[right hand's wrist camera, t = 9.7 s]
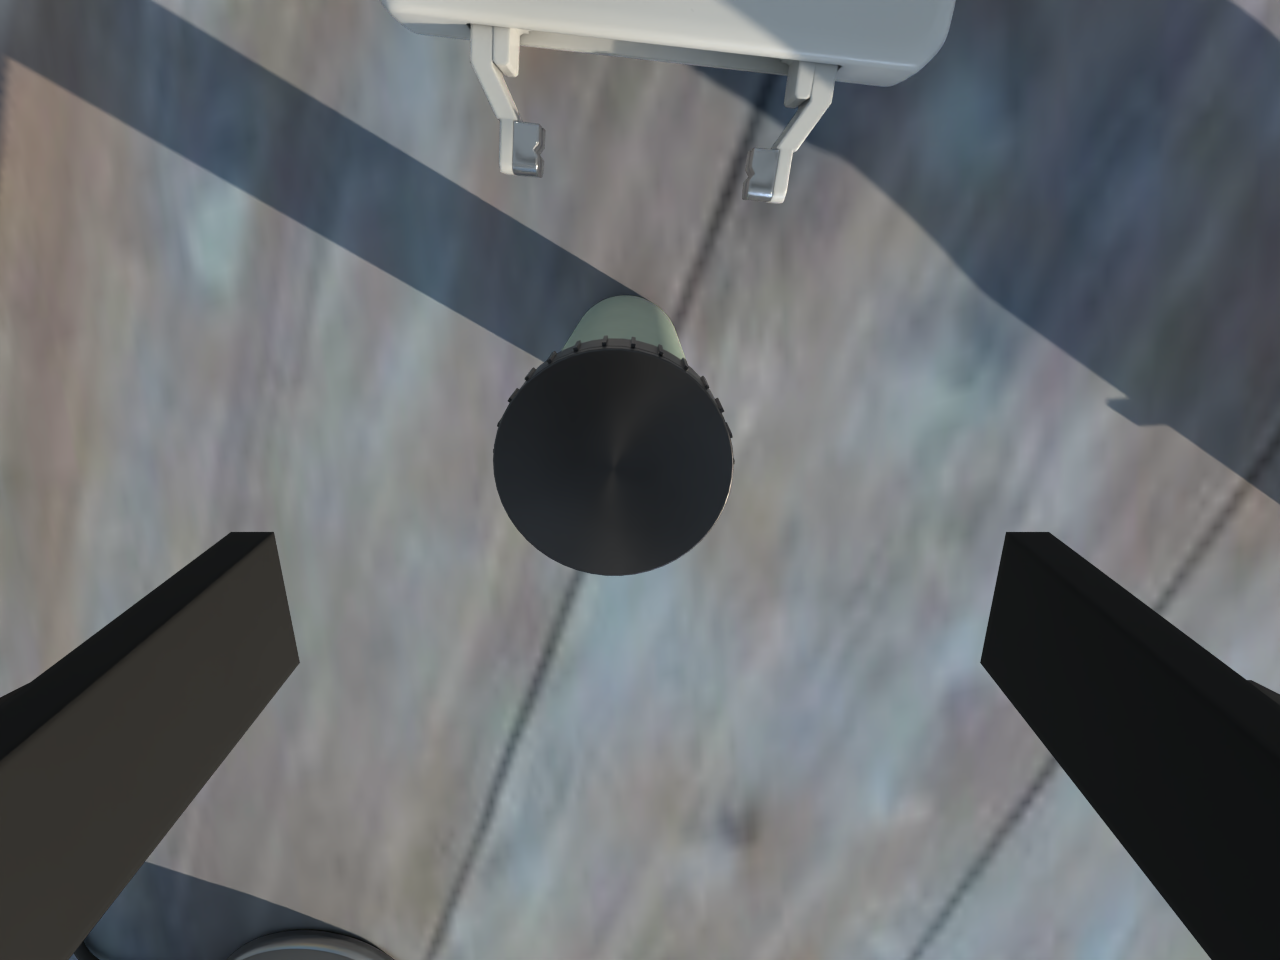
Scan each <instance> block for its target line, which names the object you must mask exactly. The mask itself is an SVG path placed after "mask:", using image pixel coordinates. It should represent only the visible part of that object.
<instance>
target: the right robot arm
mask: <svg viewBox="0 0 1280 960" xmlns="http://www.w3.org/2000/svg"><path fill="white" fill-rule="evenodd" d="M299 663H300V662H299V657H298V652H297V647H296V642H295V636H294V631H293V626H292V621H291V616H290V611H289V606H288V601H287V596H286V591H285V586H284V581H283V576H282V571H281V566H280V561H279V556H278V551H277V546H276V541H275V535H274V532H231V533H229V534H228V535H227V536H225V537H224V538H223V539H221V540H220V541H219V542H217V543H216V544H215V545H213V546H212V547H211V548H209V549H208V550H207V551H205V552H204V553H203V554H201V555H200V556H199V557H197V558H196V559H195V560H193V561H192V562H191V563H189V564H188V565H187V566H185V567H184V568H183V569H181V570H180V571H179V572H177V573H176V574H175V575H173V576H172V577H171V578H169V579H168V580H166V581H165V582H164V583H162V584H161V585H160V586H158V587H157V588H156V589H154V590H153V591H152V592H150V593H149V594H148V595H146V596H145V597H144V598H142V599H141V600H140V601H138V602H137V603H136V604H134V605H133V606H132V607H130V608H129V609H128V610H126V611H125V612H124V613H122V614H121V615H120V616H118V617H117V618H116V619H114V620H113V621H112V622H110V623H109V624H108V625H106V626H105V627H104V628H102V629H101V630H100V631H98V632H97V633H96V634H94V635H93V636H92V637H90V638H89V639H88V640H86V641H85V642H84V643H82V644H81V645H80V646H78V647H77V648H76V649H74V650H73V651H72V652H70V653H69V654H68V655H66V656H65V657H64V658H62V659H61V660H60V661H58V662H57V663H56V664H54V665H53V666H52V667H50V668H49V669H48V670H46V671H45V672H44V673H42V674H41V675H40V676H38V677H37V678H36V679H34V680H33V681H32V682H30V683H28V684H26V685H24V686H22V687H20V688H18V689H16V690H14V691H12V692H10V693H8V694H6V695H4V696H2V697H0V960H69V958H70V957H71V956H72V954H73V953H74V954H75V956H76V957H77V959H78V960H99V959H98V958H97V957H95V956H94V955H93V954H92V953H91V952H90V951H89V949H88V948H87V946H86V945H85V943H84V941H83V940H84V939H85V938H86V936H87V935H88V934H89V933H90V931H91V930H92V929H93V927H94V926H95V925H96V924H97V922H98V921H99V920H100V918H101V917H102V916H103V915H104V913H105V912H106V911H107V909H108V908H109V907H110V906H111V904H112V903H113V902H114V900H115V899H116V898H117V897H118V895H119V894H120V893H121V891H122V890H123V889H124V888H125V886H126V885H127V884H128V883H129V881H130V880H131V879H132V877H133V876H134V875H135V874H136V872H137V871H138V870H139V868H140V867H141V866H142V865H143V863H144V862H145V861H146V859H147V858H148V857H149V856H150V854H151V853H152V852H153V850H154V849H155V848H156V847H157V845H158V844H159V843H160V841H161V840H162V839H163V838H164V836H165V835H166V834H167V832H168V831H169V830H170V829H171V827H172V826H173V825H174V823H175V822H176V821H177V820H178V818H179V817H180V816H181V814H182V813H183V812H184V811H185V809H186V808H187V807H188V805H189V804H190V803H191V802H192V800H193V799H194V798H195V796H196V795H197V794H198V793H199V791H200V790H201V789H202V787H203V786H204V785H205V784H206V782H207V781H208V780H209V779H210V777H211V776H212V775H213V773H214V772H215V771H216V770H217V768H218V767H219V766H220V764H221V763H222V762H223V761H224V759H225V758H226V757H227V755H228V754H229V753H230V752H231V750H232V749H233V748H234V746H235V745H236V744H237V743H238V741H239V740H240V739H241V737H242V736H243V735H244V734H245V732H246V731H247V730H248V728H249V727H250V726H251V725H252V723H253V722H254V721H255V719H256V718H257V717H258V716H259V714H260V713H261V712H262V710H263V709H264V708H265V707H266V705H267V704H268V703H269V701H270V700H271V699H272V698H273V696H274V695H275V694H276V692H277V691H278V690H279V689H280V687H281V686H282V685H283V683H284V682H285V681H286V680H287V678H288V677H289V676H290V674H291V673H292V672H293V671H294V669H295V668H296V667H297V666H298V664H299ZM980 663H981V664H982V666H983V667H984V668H985V669H986V671H987V672H988V673H989V674H990V676H991V677H992V678H993V680H994V681H995V682H996V683H997V685H998V686H999V687H1000V689H1001V690H1002V691H1003V692H1004V694H1005V695H1006V696H1007V698H1008V699H1009V700H1010V701H1011V703H1012V704H1013V705H1014V707H1015V708H1016V709H1017V710H1018V712H1019V713H1020V714H1021V716H1022V717H1023V718H1024V719H1025V721H1026V722H1027V723H1028V725H1029V726H1030V727H1031V728H1032V730H1033V731H1034V732H1035V734H1036V735H1037V736H1038V737H1039V739H1040V740H1041V741H1042V743H1043V744H1044V745H1045V746H1046V748H1047V749H1048V750H1049V752H1050V753H1051V754H1052V755H1053V757H1054V758H1055V759H1056V761H1057V762H1058V763H1059V764H1060V766H1061V767H1062V768H1063V770H1064V771H1065V772H1066V773H1067V775H1068V776H1069V777H1070V779H1071V780H1072V781H1073V782H1074V784H1075V785H1076V786H1077V787H1078V789H1079V790H1080V791H1081V793H1082V794H1083V795H1084V796H1085V798H1086V799H1087V800H1088V802H1089V803H1090V804H1091V805H1092V807H1093V808H1094V809H1095V811H1096V812H1097V813H1098V814H1099V816H1100V817H1101V818H1102V820H1103V821H1104V822H1105V823H1106V825H1107V826H1108V827H1109V829H1110V830H1111V831H1112V832H1113V834H1114V835H1115V836H1116V838H1117V839H1118V840H1119V841H1120V843H1121V844H1122V845H1123V847H1124V848H1125V849H1126V850H1127V852H1128V853H1129V854H1130V856H1131V857H1132V858H1133V859H1134V861H1135V862H1136V863H1137V865H1138V866H1139V867H1140V868H1141V870H1142V871H1143V872H1144V874H1145V875H1146V876H1147V877H1148V879H1149V880H1150V881H1151V883H1152V884H1153V885H1154V886H1155V888H1156V889H1157V890H1158V891H1159V893H1160V894H1161V895H1162V897H1163V898H1164V899H1165V900H1166V902H1167V903H1168V904H1169V906H1170V907H1171V908H1172V909H1173V911H1174V912H1175V913H1176V915H1177V916H1178V917H1179V918H1180V920H1181V921H1182V922H1183V924H1184V925H1185V926H1186V927H1187V929H1188V930H1189V931H1190V933H1191V934H1192V935H1193V936H1194V938H1195V939H1196V940H1197V942H1198V943H1199V944H1200V945H1201V947H1202V948H1203V949H1204V951H1205V952H1206V953H1207V954H1208V956H1209V957H1210V958H1211V960H1280V694H1278V693H1276V692H1274V691H1272V690H1270V689H1268V688H1266V687H1264V686H1262V685H1260V684H1258V683H1256V682H1254V681H1252V680H1246V679H1244V678H1243V677H1242V676H1240V675H1239V674H1238V673H1236V672H1235V671H1234V670H1232V669H1231V668H1230V667H1228V666H1227V665H1226V664H1224V663H1223V662H1222V661H1220V660H1219V659H1218V658H1216V657H1215V656H1214V655H1212V654H1211V653H1210V652H1208V651H1207V650H1206V649H1204V648H1203V647H1202V646H1200V645H1199V644H1198V643H1196V642H1195V641H1194V640H1192V639H1191V638H1190V637H1188V636H1187V635H1186V634H1184V633H1183V632H1182V631H1180V630H1179V629H1178V628H1176V627H1175V626H1174V625H1172V624H1171V623H1170V622H1168V621H1167V620H1166V619H1164V618H1163V617H1162V616H1160V615H1159V614H1158V613H1156V612H1155V611H1154V610H1152V609H1151V608H1150V607H1148V606H1147V605H1146V604H1144V603H1143V602H1142V601H1140V600H1139V599H1138V598H1136V597H1135V596H1134V595H1132V594H1131V593H1130V592H1128V591H1127V590H1126V589H1124V588H1123V587H1122V586H1120V585H1119V584H1118V583H1116V582H1115V581H1113V580H1112V579H1111V578H1109V577H1108V576H1107V575H1105V574H1104V573H1103V572H1101V571H1100V570H1099V569H1097V568H1096V567H1095V566H1093V565H1092V564H1091V563H1089V562H1088V561H1087V560H1085V559H1084V558H1083V557H1081V556H1080V555H1079V554H1077V553H1076V552H1075V551H1073V550H1072V549H1071V548H1069V547H1068V546H1067V545H1065V544H1064V543H1063V542H1061V541H1060V540H1059V539H1057V538H1056V537H1055V536H1053V535H1052V534H1051V533H1049V532H1006V535H1005V541H1004V546H1003V551H1002V556H1001V561H1000V566H999V571H998V576H997V581H996V586H995V591H994V596H993V601H992V606H991V611H990V616H989V621H988V626H987V631H986V636H985V642H984V647H983V652H982V657H981V662H980ZM227 960H394V959H393V958H391V957H390V956H389V955H387V954H386V953H384V952H383V951H381V950H379V949H377V948H375V947H374V946H371V945H369V944H367V943H365V942H363V941H360V940H357V939H354V938H351V937H348V936H344V935H340V934H336V933H331V932H324V931H313V930H295V931H285V932H278V933H274V934H269V935H266V936H263V937H260V938H257V939H255V940H253V941H251V942H249V943H247V944H245V945H243V946H242V947H240V948H239V949H237V950H236V951H235V952H234V953H233V954H231V956H230V957H229V958H228V959H227Z"/></svg>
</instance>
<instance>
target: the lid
mask: <svg viewBox="0 0 1280 960" xmlns="http://www.w3.org/2000/svg"><path fill="white" fill-rule="evenodd" d="M525 380H526V381H525V383H524V384H523V385H522V387H521V388H520V389H518V388H517V389H516V390H515V391H514V393H513V394H512V395H511V397H510V398H509V399H508V402H510V403H509V405H508V407H507V409H506V411H505V413H504V414H503V417H502V418H501V420H500V421H499V422H498V425H497V427H498V430H497V435H496V439H495V444H494V449H493V453H494V454H493V466H494V477H495V482H496V487H497V491H498V494H499V496H500V499H501V502H502V504H503V506H504V508H505V510H506V512H507V514H508V516H509V518H510V519H511V521H512V522H513V524H514V525H515V527H516V528H517V529H518V531H519V532H520V533H521V534H522V535H523V536H524V537H525V538H526V540H527V541H529V542H530V543H531V544H532V545H533V546H534V547H535V548H536V549H538V550H539V551H541V552H542V553H543V554H545V555H546V556H548V557H549V558H551V559H553V560H555V561H557V562H559V563H561V564H562V565H565V566H567V567H570V568H573V569H575V570H579V571H583V572H587V573H591V574H598V575H605V576H623V575H632V574H638V573H643V572H647V571H651V570H654V569H657V568H659V567H662V566H665V565H667V564H669V563H671V562H673V561H675V560H677V559H678V558H680V557H681V556H683V555H684V554H686V553H687V552H689V551H690V550H691V549H692V548H693V547H695V546H696V545H697V544H698V543H699V542H700V541H701V540H702V539H703V538H704V537H705V536H706V535H707V534H708V532H709V531H710V530H711V529H712V527H713V526H714V524H715V523H716V521H717V520H718V518H719V516H720V514H721V512H722V510H723V508H724V506H725V504H726V501H727V498H728V495H729V493H730V488H731V483H732V478H733V465H734V462H735V461H734V458H733V448H732V443H731V438H732V433H731V431H730V429H729V426H728V424H727V422H725V420H724V417H723V415H722V412H724V410H723V408H722V405H721V403H720V401H719V399H718V398H716V399H715V398H714V396H713V395H712V393H711V391H710V389H709V386H708V383H707V381H706V379H705V377H704V376H702V377H700V376H699V375H698V374H697V373H696V372H695V371H694V370H693V369H692V368H691V367H690V366H688V364H687V361H686V359H685V358H682V359H680V358H678V357H676V356H675V355H673V354H671V353H670V352H668V351H666V350H664V349H663V347H662V345H660V344H658V347H657V346H654V345H652V344H648V343H645V342H641V341H637V340H636V337H632V338H631V340H630V339H622V338H608V335H606V336H604V337H603V339H598V340H591V341H587V342H584V343H581V340H579V341H577V342H576V344H575V345H574V346H572V347H569V348H567V349H564V350H562V351H561V352H559V353H556V352H555V351H554V352H553V353H552V354H551V355H550V357H549V358H548V359H547V361H545V362H544V363H543V364H541V365H540V366H539V367H538V368H537V369H535V368H534V367H533V368H532V369H531V371H530V372H529V373H528V375H527V376H526V377H525Z"/></svg>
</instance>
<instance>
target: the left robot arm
mask: <svg viewBox="0 0 1280 960" xmlns="http://www.w3.org/2000/svg"><path fill="white" fill-rule="evenodd" d="M379 1H380V3H381V4H382V5H383V6H384V8H385V9H386V10H387V12H388V13H389V14H390V15H391V16H392V17H393V18H395V19H396V20H397V21H398V22H399V23H400V24H401V25H403V26H404V27H405V28H407V29H408V30H410V31H411V32H414V33H416V34H421V35H429V36H438V37H447V38H455V39H464V40H470V63H471V65H472V67H473V69H474V71H475V74H476V76H477V78H478V80H479V82H480V84H481V86H482V88H483V91H484V93H485V95H486V97H487V99H488V101H489V103H490V105H491V108H492V110H493V112H494V114H495V116H496V118H497V119H498V120H499V121H500V141H499V166H500V172H501V173H503V174H506V175H516V176H525V177H537V178H542V176H543V170H544V160H543V158H542V157H541V155H540V154H541V153H542V152H543V150H544V149H545V130H544V128H542V126H541V125H540V124H535V123H527V122H523V121H522V119H521V117H520V114H519V112H518V110H517V108H516V105H515V103H514V101H513V99H512V96H511V94H510V92H509V90H508V87H507V85H506V83H505V81H504V78H503V73H504V74H505V76H508V77H516V76H517V75H518V71H519V48H520V46H527V47H536V48H544V49H553V50H562V51H571V52H580V53H589V54H598V55H607V56H616V57H625V58H633V59H642V60H651V61H660V62H669V63H678V64H687V65H696V66H705V67H714V68H723V69H731V70H740V71H749V72H758V73H767V74H776V75H785V76H788V77H787V84H786V92H785V99H784V105H785V107H787V108H796V107H797V106H798V110H797V112H796V113H795V115H794V116H793V118H792V119H791V121H790V122H789V123H788V125H787V126H786V128H785V129H784V131H783V132H782V133H781V135H780V136H779V138H778V139H777V141H776V142H775V143H774V145H773V146H772V148H771V149H766V148H753V149H752V151H749V152H748V154H747V161H746V168H745V171H746V173H747V175H748V178H747V179H746V180H745V181H744V183H743V191H742V199H743V200H751V201H759V202H767V203H783V201H784V198H785V195H786V192H787V186H788V179H789V173H790V167H791V160H792V154H793V153H794V152H795V151H797V149H798V148H799V147H800V145H801V144H802V143H803V141H804V140H805V138H806V137H807V136H808V134H809V133H810V132H811V130H812V129H813V127H814V126H815V125H816V123H817V122H818V121H819V119H820V118H821V116H822V115H823V114H824V112H825V111H826V110H827V108H828V107H829V105H830V104H831V102H832V97H833V91H834V85H835V81H838V82H847V83H856V84H865V85H874V86H883V87H888V86H893V85H896V84H898V83H900V82H902V81H904V80H906V79H908V78H909V77H911V76H912V75H914V74H916V73H917V72H918V71H920V70H921V69H922V68H923V67H924V66H925V65H926V64H927V63H928V62H929V61H930V60H931V59H932V58H933V57H934V56H935V55H936V54H937V53H938V52H939V50H940V49H941V48H942V46H943V44H944V42H945V40H946V38H947V35H948V32H949V29H950V24H951V20H952V16H953V12H954V7H955V2H956V0H379Z"/></svg>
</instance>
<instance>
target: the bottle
mask: <svg viewBox="0 0 1280 960" xmlns="http://www.w3.org/2000/svg"><path fill="white" fill-rule="evenodd" d="M606 335H608V338H622V339H630V340H631V338H632V337H636V340H637V341H641V342H645V343H648V344H652V345H654V346H657V347H658V344H660V345H662V347H663V349H664V350H666V351H668V352H670V353H671V354H673V355H675V356H676V357H678V358H680V359H682V358H685V356H684V353H683V350H682V347H681V345H680V342H679V339H678V336H677V334H676V331H675V328H674V326H673V324H672V322H671V320H670V319H669V318H668V316H667V315H666V314H665V313H664V312H663V311H662V309H660V308H659V307H658V306H657V305H655V304H654V303H652V302H650V301H648V300H646V299H644V298H640V297H637V296H630V295H621V296H614V297H610V298H607V299H605V300H602V301H601V302H599V303H597V304H595V305H594V306H593V307H592V308H590V309H589V310H588V311H587V312H586V313H585V315H584V316H583V317H582V319H581V320H580V322H579V323H578V325H577V327H576V328H575V330H574V331H573V333H572V335H571V336H570V338H569V339H568V341H567V343H566V344H565V346H564V347H563V349H562V350H564V349H567V348H569V347H572V346H574V345H575V344H576V342H577V341H579V340H581V343H584V342H587V341H591V340H598V339H603V337H604V336H606ZM685 359H686V358H685Z"/></svg>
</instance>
